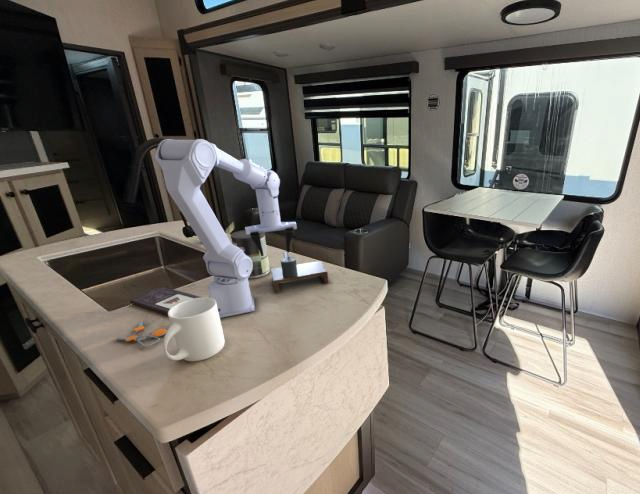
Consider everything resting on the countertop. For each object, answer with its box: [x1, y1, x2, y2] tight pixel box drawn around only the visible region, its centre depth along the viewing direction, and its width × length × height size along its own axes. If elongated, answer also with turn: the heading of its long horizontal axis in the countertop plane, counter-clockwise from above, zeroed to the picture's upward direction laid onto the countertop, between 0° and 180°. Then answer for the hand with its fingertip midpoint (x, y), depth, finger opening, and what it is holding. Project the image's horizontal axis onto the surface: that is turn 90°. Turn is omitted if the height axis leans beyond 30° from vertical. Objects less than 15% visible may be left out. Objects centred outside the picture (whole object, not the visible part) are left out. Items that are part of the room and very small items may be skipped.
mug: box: [162, 297, 226, 362], centre depth 66 cm, size 9×12×11 cm
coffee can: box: [230, 229, 271, 280], centre depth 107 cm, size 10×10×14 cm
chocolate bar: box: [129, 286, 203, 316], centre depth 89 cm, size 9×1×18 cm
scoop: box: [280, 252, 298, 278], centre depth 99 cm, size 9×4×5 cm, turn 25°
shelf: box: [270, 260, 329, 294], centre depth 102 cm, size 16×10×4 cm, turn 116°
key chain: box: [116, 320, 168, 348], centre depth 75 cm, size 13×7×1 cm, turn 66°
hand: (275, 253), depth 100 cm, fingers open, 7 cm apart
